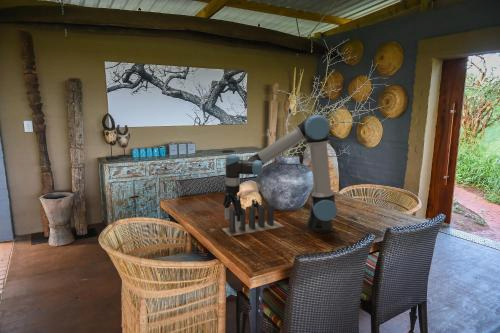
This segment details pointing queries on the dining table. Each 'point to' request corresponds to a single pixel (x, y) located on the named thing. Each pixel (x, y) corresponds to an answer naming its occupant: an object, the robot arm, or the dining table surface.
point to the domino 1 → (232, 220)
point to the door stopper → (254, 206)
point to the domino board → (249, 230)
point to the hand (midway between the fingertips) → (232, 222)
